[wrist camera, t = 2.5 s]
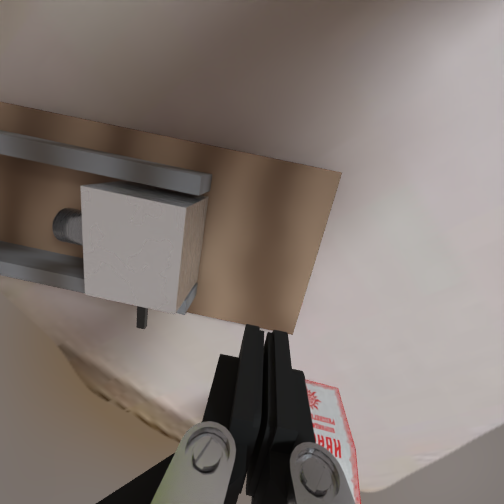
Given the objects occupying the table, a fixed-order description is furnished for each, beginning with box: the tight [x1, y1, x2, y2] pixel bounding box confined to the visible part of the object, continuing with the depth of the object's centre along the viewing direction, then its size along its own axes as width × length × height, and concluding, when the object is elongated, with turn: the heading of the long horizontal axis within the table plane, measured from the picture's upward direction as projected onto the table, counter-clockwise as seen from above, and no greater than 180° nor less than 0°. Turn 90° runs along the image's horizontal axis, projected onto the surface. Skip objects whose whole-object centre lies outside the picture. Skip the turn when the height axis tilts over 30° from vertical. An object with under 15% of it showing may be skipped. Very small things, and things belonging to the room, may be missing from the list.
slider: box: [52, 180, 208, 329], centre depth 18 cm, size 9×10×5 cm
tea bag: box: [305, 380, 361, 504], centre depth 22 cm, size 4×7×10 cm, turn 76°
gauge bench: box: [0, 102, 342, 335], centre depth 18 cm, size 33×14×8 cm, turn 79°
